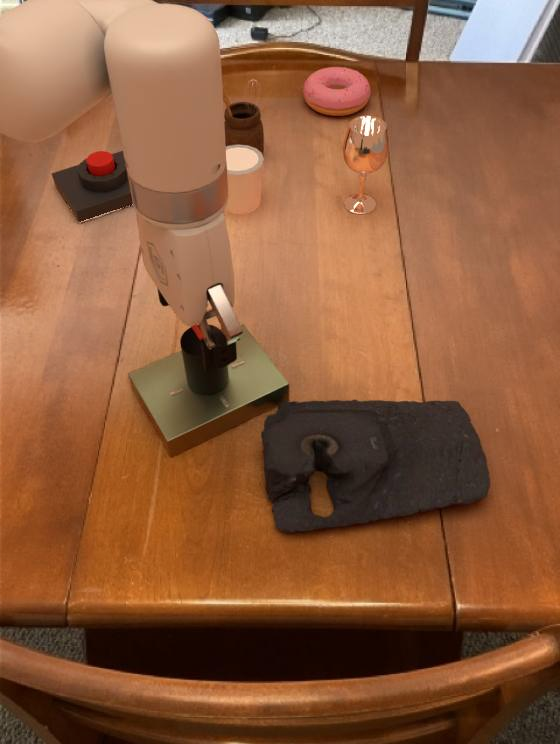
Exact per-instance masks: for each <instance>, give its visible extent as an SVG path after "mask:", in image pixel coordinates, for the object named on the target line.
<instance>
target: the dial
mask: <svg viewBox="0 0 560 744" xmlns="http://www.w3.org/2000/svg"><path fill="white" fill-rule="evenodd" d="M208 325H209V327H210V330H211V333H213V332H215V331H218V330H220V329H221V328H219V327H218V326H216V325H213V324H209V323H208ZM203 340H204V337H203V335H202V332H201V329H200V327H199V324H197V325H194V326H192V327H190V326H189V327H188V328H187V329H186V330H185V331H184V332H183V333H182V334H181V337H180V340H179V341H180V342H179V345H180V351H182V356H183V362H184V367H185V373H186V378H187V383H188V385H189V387H190V388H191V389H192V390H193V391H195V392H197V393H199V394H206V395H207V394H214V393H217V392H219V391H220V390H222V389H223V388H224V387H225V386H226V384H227V383H228V380H229V373H228V366H225V367H223V368H218V369H216V370H214V371H212V372H206V370H205V369H204V365H203V357H202V348H201V342H202V341H203Z"/></svg>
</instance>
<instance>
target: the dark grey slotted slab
mask: <svg viewBox="0 0 560 744" xmlns="http://www.w3.org/2000/svg"><path fill="white" fill-rule="evenodd" d="M277 407H278V410H277V411H276V412H275V413H273V414H269V415H267V416H266V418H265V420H264V423H263V430H262V431H260V438H261V443H262V446H263V448H262V453H263V462H264V463H263V469H264V481H265V485H264V489H265V492H266V494H267V495H268V496H267V501H268V502H273V504H272V505H271V513H273V521H274V522H275V524H274V527H275V529H277V530H280V531H282V532H284V533H286V534H292V533H297V532H299V531H301V532H311V531H313V530H316V529H319V530H320V529H321V530H322V529H326V528H335V527H348V526H354V525H355V524H357V525H363V524H367V523H369V522H377V521H379V520H389V519H391V518H395V517H405V516H411V515H414V514H418V513H419V512H424V513H425V512H429V511H433V510H435V509H441V508H446V507H449V506H453V505H469V504H473V503H476V502H479V501H481V500H484V499H486V498H487V497H488V494H489V489H490V487H491V479H490V471H489V467H488V464H487V461H488V460H487V457H486V453H485V451H484V449H483V446H482V444H481V443H482V442H481V438H480V436H479V434H478V432H477V430H476V428H475V427H474V425H473V424H472V423H471V422H472V419H471V417H470V415H469V413H468V412H467V411H466V410H465V408H464V407H463V406H462V405H461V402H460V401H456V400H427V401H423V402H422V401H420V402H419V401H415V400H411V401H408V400H400V401H395V400H383V399H381V400H380V399H377V400H376V399H375V400H372V399H371V400H357V399H352V400H339V399H336V400H325V401H324V400H309V401H308V400H307V401H296V400H295V401H285V402H282V403H281V404H279V406H277ZM315 470H318V471H319V472H322V473H324V474H325V475H326V476H327V480H326V488H327V491H328V494H329V496H330V499H331V503H332V504H333V507H334V509H333V510H332V512H331V513H330V515H328V516H322V515H319V514H315V513H314V512H313V510H312V502H311V497H310V495H311V492H312V489H311V484H310V478H311V476H314V474H315Z"/></svg>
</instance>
